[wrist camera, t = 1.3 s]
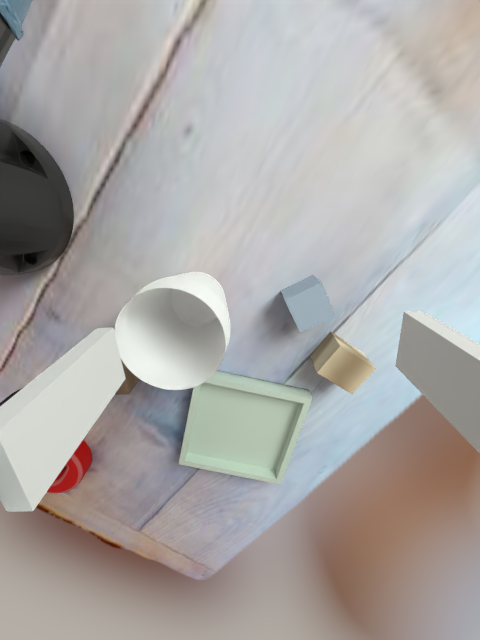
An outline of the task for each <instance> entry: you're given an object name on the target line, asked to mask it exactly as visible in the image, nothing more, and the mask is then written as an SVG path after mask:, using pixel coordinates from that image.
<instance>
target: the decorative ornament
mask: <svg viewBox="0 0 480 640" xmlns="http://www.w3.org/2000/svg"><path fill="white" fill-rule="evenodd" d="M91 462H92V454H91V450H90V448H89V447H88V445H87V444H86V442H85V441H84V440H82V442H81V443H80V445H79V446H78V448H77V449H76V450H75V452H74V453H73V455H72V456H71V458H70V459H69V460H68V462H67V463H66V466H67V467H64V468H63V469H62V470H61V472H60V473H59V475H58V476H57V478H56V479H55V481H54V482H53V483H52V485H51V486H50V488H49V489H48V491H47V492H49V493H62V492H66V491H68V490H71V489H73V488H74V487H76V486H77V485H78V484H79V483H80V481H81V480H82V478H83V476H84V475H85V473H86V472H87V470H88V469H89V467H90V465H91Z"/></svg>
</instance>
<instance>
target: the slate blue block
mask: <svg viewBox="0 0 480 640" xmlns="http://www.w3.org/2000/svg"><path fill="white" fill-rule="evenodd" d="M281 293H282V295H283V298H284V300H285V302H286V304H287V306H288V308H289V311H290V313H291V315H292V317H293V319H294V321H295V323H296V325H297V327H298V329H299V331H300V333H301V332H303V331H305V330H307V329H310V328H312V327H314V326H316V325H319V324H321V323H323V322H325V321H328V320H330V319H332V318H334V317H336V315H335V313H334V311H333V308H332V306H331V304H330V301H329V299H328V297H327V294H326V292H325V289H324V287H323V285H322V283H321V282H320V281H319V280H318V279H317V278H316V277H315V276H314V275H312V276H310V277H308V278H306V279H304V280H302V281H300V282H298V283H296V284H294V285H291V286H289V287H287V288H285V289H283V290H281Z"/></svg>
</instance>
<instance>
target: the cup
mask: <svg viewBox="0 0 480 640" xmlns="http://www.w3.org/2000/svg"><path fill="white" fill-rule="evenodd" d="M114 333H115V337H116V341H117V345H118V349H119V353H120V357H121V359H122V361H123V363H124V364H125V365H126V367H127V368H128V369H129V370H130V371H131V372H132V373H133V374H134V375H135V376H137V377H138V378H139V379H141V380H142V381H144V382H146V383H148V384H150V385H152V386H155V387H158V388H162V389H167V390H184V389H189V388H193V387H195V386H198V385H200V384H202V383H204V382H205V381H207V380H208V379H209V378H210V377H212V376H213V375H214V373H215V372H216V371H217V370H218V368H219V366H220V365H221V363H222V360H223V357H224V354H225V351H226V348H227V346H228V343H229V339H230V319H229V314H228V309H227V304H226V299H225V294H224V291H223V289H222V287H221V285H220V284H219V283H218V281H217V280H215V279H214V278H213V277H211V276H210V275H208V274H205V273H202V272H188V273H184V274H179V275H175V276H170V277H166V278H162V279H158V280H156V281H154V282H151V283H149V284H148V285H146V286H145V287H143V288H142V289H141V290H140V291H139V292H138V293H137V294H136V295H135V296H134V297H133V298H132V299H130V300H129V301H128V302H127V303H126V304H125V305H124V307H123V308H122V310H121V311H120V313H119V315H118V317H117V320H116V324H115V330H114Z"/></svg>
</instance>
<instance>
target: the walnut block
mask: <svg viewBox="0 0 480 640" xmlns="http://www.w3.org/2000/svg"><path fill="white" fill-rule="evenodd" d="M121 362H122V366H123V370H124V374H125V378H126V379H125V380H124V382H123V383H122V385H121V386H120V388H119V389H118V390H117V392H116V393H115V394H130V392H131V391H132V389H133V388H134V386H135V385H136V383H137V382H138V380H139V378H138V377H137V376H135V375H134V374H133V373H132V372H131V371H130V370H129V369H128V368H127V367H126V365H125V364H124V363H123V361H122V359H121Z"/></svg>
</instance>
